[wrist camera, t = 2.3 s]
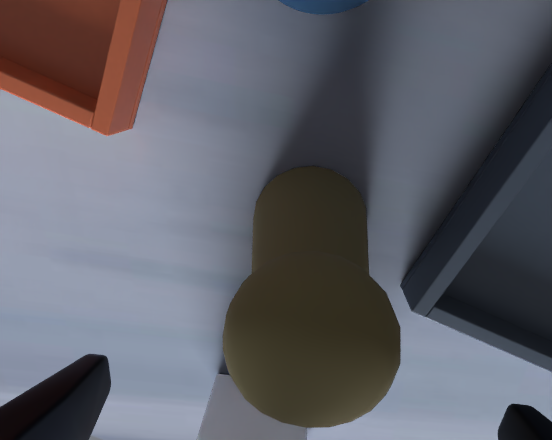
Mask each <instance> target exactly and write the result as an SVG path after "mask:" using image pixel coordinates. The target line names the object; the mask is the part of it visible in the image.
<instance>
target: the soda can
mask: <svg viewBox="0 0 552 440" xmlns="http://www.w3.org/2000/svg"><path fill="white" fill-rule="evenodd" d="M279 1H280V2H282V3H283V4H285V5H287V6H289V7H291V8H293V9H296V10H299V11H302V12H306V13H311V14H334V13H340V12H344V11H347V10H350V9H353V8H355V7H357V6H360V5H361V4H363V3H365V2H367V1H368V0H279Z"/></svg>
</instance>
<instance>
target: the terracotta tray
mask: <svg viewBox="0 0 552 440" xmlns="http://www.w3.org/2000/svg"><path fill="white" fill-rule="evenodd" d="M166 3H167V0H0V89H2V90H4V91H7V92H9V93H11V94H13V95H16V96H18V97H20V98H22V99H25V100H27V101H29V102H31V103H34V104H36V105H38V106H41V107H43V108H45V109H47V110H50V111H52V112H54V113H56V114H59V115H61V116H63V117H65V118H68V119H70V120H72V121H75V122H77V123H79V124H81V125H84V126H86V127H88V128H91V129H92V130H94V131H97V132H99V133H101V134H103V135H106V136H109V135H113V134H116V133H119V132H122V131H125V130H129V129H132V127H133V124H134V120H135V116H136V113H137V109H138V105H139V102H140V98H141V94H142V91H143V87H144V83H145V80H146V76H147V72H148V69H149V65H150V61H151V58H152V54H153V50H154V47H155V43H156V39H157V36H158V32H159V28H160V25H161V21H162V17H163V14H164V10H165V6H166Z"/></svg>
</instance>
